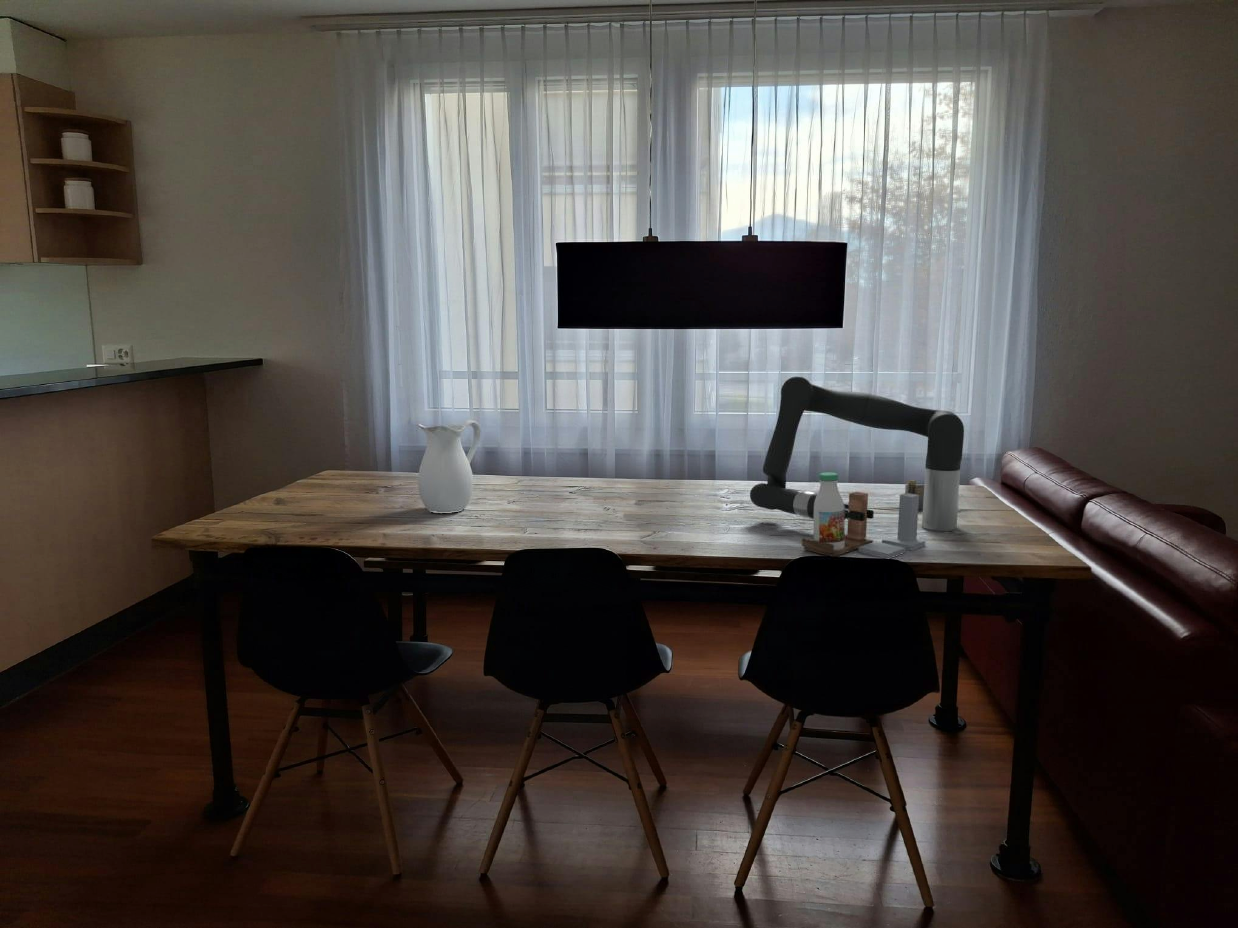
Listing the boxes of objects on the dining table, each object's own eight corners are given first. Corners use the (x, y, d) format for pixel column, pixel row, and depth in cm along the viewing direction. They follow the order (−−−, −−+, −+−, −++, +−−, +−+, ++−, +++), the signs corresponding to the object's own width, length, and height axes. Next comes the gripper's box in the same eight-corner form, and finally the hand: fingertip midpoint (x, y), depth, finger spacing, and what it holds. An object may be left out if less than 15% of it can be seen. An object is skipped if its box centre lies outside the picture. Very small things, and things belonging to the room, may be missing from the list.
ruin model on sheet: (906, 509, 265) (908, 479, 263) (904, 507, 268) (905, 477, 266) (943, 510, 264) (945, 480, 263) (940, 508, 267) (942, 478, 266)
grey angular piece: (895, 539, 228) (898, 491, 226) (924, 545, 222) (928, 496, 219) (858, 551, 216) (860, 501, 214) (888, 558, 210) (891, 506, 208)
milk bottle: (808, 551, 217) (807, 474, 213) (822, 544, 223) (821, 470, 219) (836, 555, 212) (836, 477, 209) (849, 548, 218) (849, 472, 214)
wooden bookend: (845, 536, 230) (847, 490, 228) (874, 543, 223) (877, 495, 221) (801, 549, 217) (803, 500, 215) (831, 557, 210) (833, 506, 208)
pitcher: (444, 519, 252) (440, 427, 248) (407, 511, 262) (403, 423, 258) (500, 505, 271) (498, 419, 266) (465, 498, 281) (462, 415, 276)
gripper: (799, 495, 229) (854, 506, 216) (829, 488, 238) (883, 498, 226) (798, 522, 230) (853, 534, 218) (828, 514, 240) (882, 525, 227)
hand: (868, 515), depth 222 cm, fingers open, 3 cm apart
